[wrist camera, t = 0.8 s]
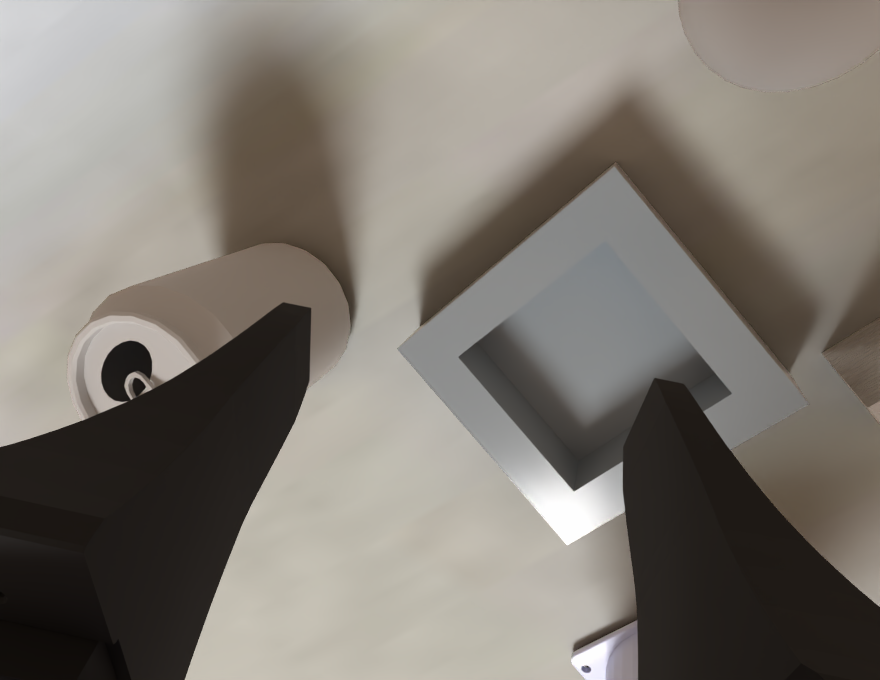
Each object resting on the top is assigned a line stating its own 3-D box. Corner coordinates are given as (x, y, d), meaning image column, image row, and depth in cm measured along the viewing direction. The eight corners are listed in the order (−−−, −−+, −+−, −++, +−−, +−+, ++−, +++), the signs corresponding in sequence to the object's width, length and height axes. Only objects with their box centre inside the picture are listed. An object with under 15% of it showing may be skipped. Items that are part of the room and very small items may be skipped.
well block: (789, 373, 29) (809, 404, 26) (573, 505, 34) (567, 545, 30) (615, 161, 28) (614, 166, 25) (419, 326, 33) (396, 348, 30)
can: (277, 208, 33) (102, 250, 22) (385, 311, 33) (265, 405, 22) (203, 309, 36) (16, 390, 25) (302, 404, 36) (160, 526, 25)
